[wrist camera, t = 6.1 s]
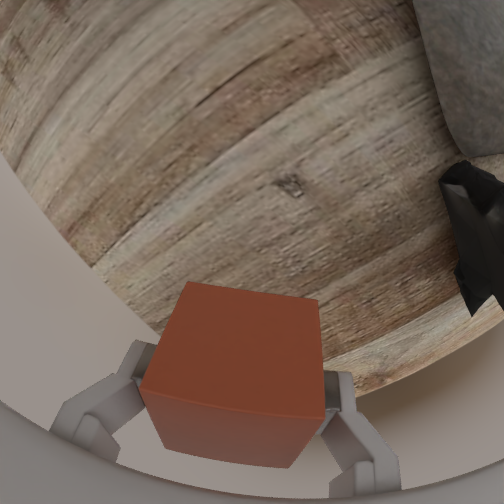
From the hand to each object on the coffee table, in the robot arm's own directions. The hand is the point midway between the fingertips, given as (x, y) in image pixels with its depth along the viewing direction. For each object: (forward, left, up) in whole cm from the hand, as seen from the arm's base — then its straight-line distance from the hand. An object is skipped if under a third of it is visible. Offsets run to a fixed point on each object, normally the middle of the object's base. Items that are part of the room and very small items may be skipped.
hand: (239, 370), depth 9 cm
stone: (-18, -10, -8) cm, 22 cm away
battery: (-12, 0, -6) cm, 14 cm away
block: (0, 0, -2) cm, 2 cm away
